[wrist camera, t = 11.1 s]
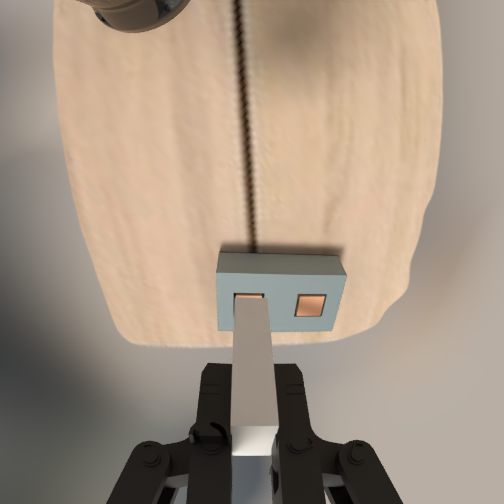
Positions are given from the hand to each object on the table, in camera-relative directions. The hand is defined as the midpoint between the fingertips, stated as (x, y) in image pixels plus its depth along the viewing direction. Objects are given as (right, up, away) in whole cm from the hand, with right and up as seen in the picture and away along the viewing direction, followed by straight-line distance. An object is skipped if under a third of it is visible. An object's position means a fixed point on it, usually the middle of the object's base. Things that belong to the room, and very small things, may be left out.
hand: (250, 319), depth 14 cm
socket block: (+4, -2, +39) cm, 39 cm away
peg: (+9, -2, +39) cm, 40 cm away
